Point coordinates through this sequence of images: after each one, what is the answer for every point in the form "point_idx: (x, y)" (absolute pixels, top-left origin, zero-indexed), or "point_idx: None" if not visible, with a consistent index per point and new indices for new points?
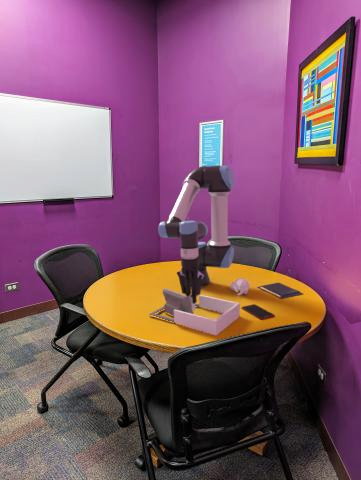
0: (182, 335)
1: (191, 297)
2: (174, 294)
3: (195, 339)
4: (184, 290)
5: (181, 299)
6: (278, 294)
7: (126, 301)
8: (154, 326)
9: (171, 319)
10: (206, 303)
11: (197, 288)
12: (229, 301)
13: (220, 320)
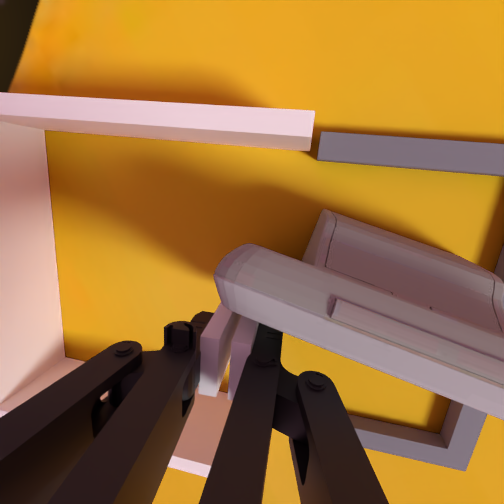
0: (178, 4)
1: (204, 333)
2: (426, 324)
3: (89, 4)
4: (300, 409)
5: (287, 257)
6: None
7: None
8: (436, 12)
9: (343, 145)
10: (217, 421)
11: (33, 410)
12: None
13: None
